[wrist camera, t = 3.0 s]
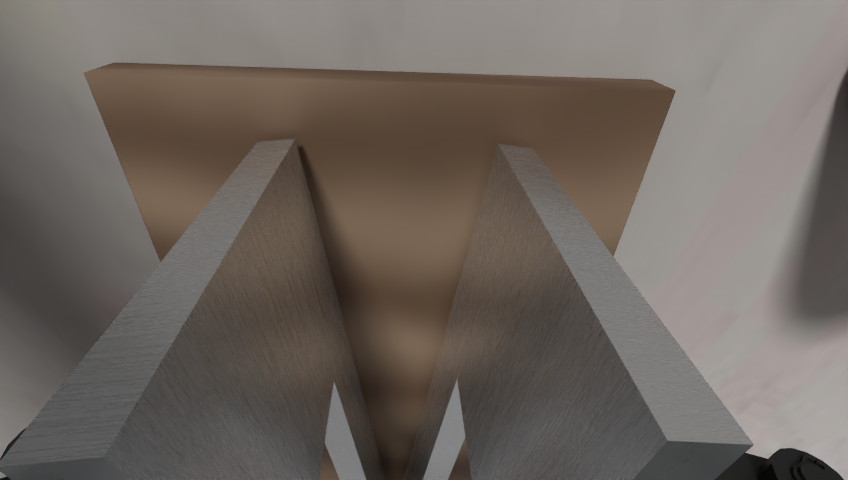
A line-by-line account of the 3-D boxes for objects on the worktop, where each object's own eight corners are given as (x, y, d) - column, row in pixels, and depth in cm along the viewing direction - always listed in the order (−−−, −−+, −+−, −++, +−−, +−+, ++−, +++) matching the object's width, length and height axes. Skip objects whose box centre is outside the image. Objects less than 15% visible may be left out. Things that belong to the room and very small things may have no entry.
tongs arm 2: (419, 487, 26) (429, 731, 18) (400, 486, 26) (402, 733, 17) (532, 148, 13) (753, 444, 5) (497, 143, 13) (667, 441, 5)
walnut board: (113, 62, 13) (83, 72, 12) (651, 79, 14) (675, 90, 13) (269, 493, 29) (264, 516, 28) (514, 484, 30) (519, 506, 29)
